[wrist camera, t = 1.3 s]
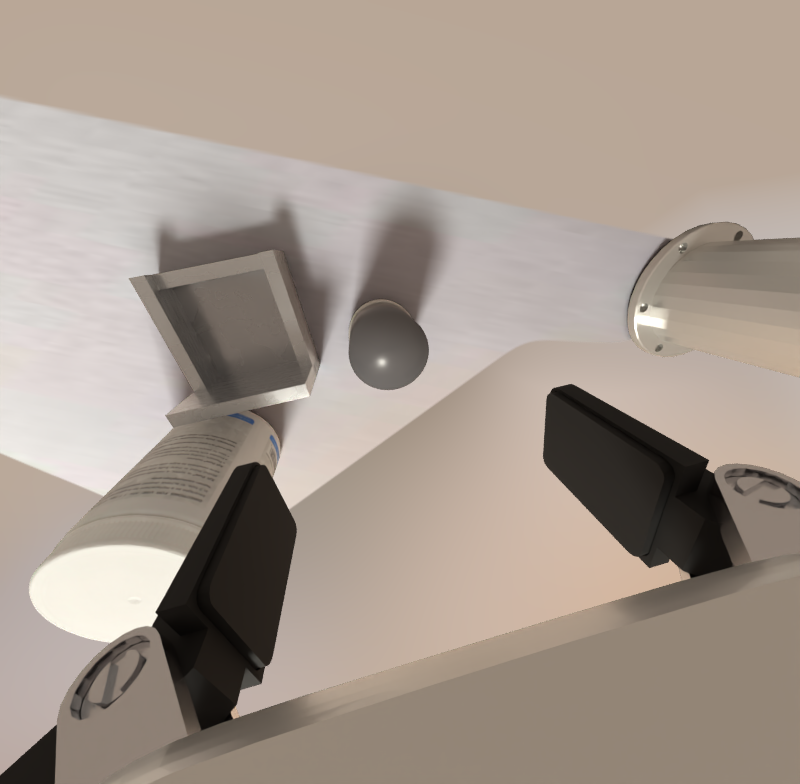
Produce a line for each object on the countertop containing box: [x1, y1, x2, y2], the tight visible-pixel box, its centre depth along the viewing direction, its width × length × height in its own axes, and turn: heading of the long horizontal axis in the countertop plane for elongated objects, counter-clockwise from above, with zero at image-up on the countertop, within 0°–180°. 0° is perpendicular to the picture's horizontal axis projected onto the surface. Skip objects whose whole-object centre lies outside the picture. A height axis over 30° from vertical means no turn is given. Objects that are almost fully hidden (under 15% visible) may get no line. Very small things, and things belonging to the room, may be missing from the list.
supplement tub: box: [29, 411, 280, 642], centre depth 22 cm, size 10×10×15 cm
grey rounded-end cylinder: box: [349, 299, 429, 390], centre depth 23 cm, size 6×6×7 cm
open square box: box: [129, 250, 320, 428], centre depth 21 cm, size 10×10×7 cm
